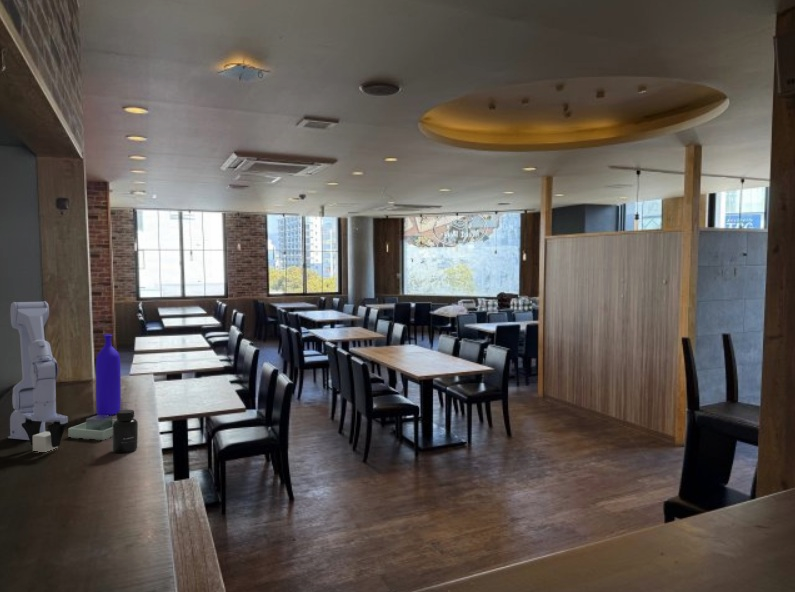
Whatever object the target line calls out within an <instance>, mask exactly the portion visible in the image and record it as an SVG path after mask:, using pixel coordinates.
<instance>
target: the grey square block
mask: <svg viewBox="0 0 795 592" xmlns="http://www.w3.org/2000/svg"><path fill="white" fill-rule="evenodd" d="M112 419H113V415H110V416H107V415H98V414H96V415H94V416H91V417H87V418H86V419H85V422H86V430H97V431H104V430H106V429H109V428H112Z"/></svg>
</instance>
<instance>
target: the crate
mask: <svg viewBox="0 0 795 592" xmlns="http://www.w3.org/2000/svg"><path fill="white" fill-rule="evenodd" d="M116 420H117V419H114V418H112V428H109V429H106V430H104V431H97V430H86V421H85V422H83V423H80V424H78V425H77V424H76V425H74V426H71V427H69V428H68V430H67V431H68V432H67V435H68V436H67V437H71V438H70V439H79V438H83V439H82V440H89V439H96V440H95V441H100V440H104V441H106V440H108V439H110V437H111V438H113V423H114V422H115V421H116ZM105 439H106V440H105Z"/></svg>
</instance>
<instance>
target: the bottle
mask: <svg viewBox="0 0 795 592" xmlns="http://www.w3.org/2000/svg"><path fill="white" fill-rule="evenodd" d="M103 337H104V346H103V347H102V348H101V349H100V351H99V352H97V354H96V357H95V358H96V359H95V400H96V401H95V402H96V404H95V405H96V407H95V408H96V415H110V416H114V415H113V414H115V415H117V412H118V411H121V404H122V403H121V402H122V401H121V398H122V397H121V396H122V395H121V392H122V390H121V389H122V388H121V386H122V385H121V384H122V383H121V381H122V380H121V378H122V377H121V374H122V373H121V357H120V354H119V351H117V350H116V349H115V347H114V346H112V337H113V334H103Z"/></svg>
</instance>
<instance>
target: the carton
mask: <svg viewBox="0 0 795 592" xmlns="http://www.w3.org/2000/svg"><path fill="white" fill-rule="evenodd" d="M55 448H57V449H58V448H59V446H57V447H52V443H51V434H50V431H47V430H45V432H42V433H39V434H36V435H33V445H32V452H33V451H38V452H37V453H39V452H47V451H50V450H52V451H54V450H53V449H55ZM55 450H56V449H55ZM50 452H51V451H50ZM47 453H48V452H47Z"/></svg>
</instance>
